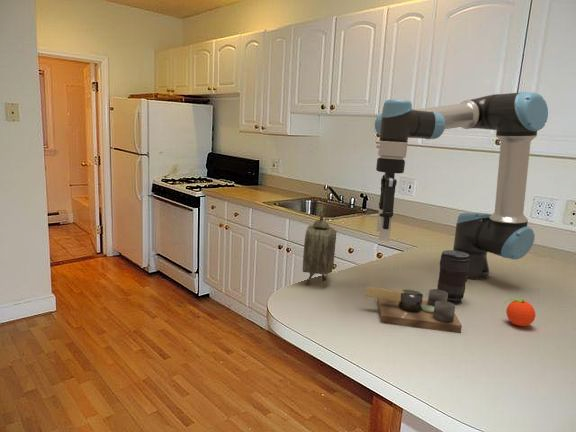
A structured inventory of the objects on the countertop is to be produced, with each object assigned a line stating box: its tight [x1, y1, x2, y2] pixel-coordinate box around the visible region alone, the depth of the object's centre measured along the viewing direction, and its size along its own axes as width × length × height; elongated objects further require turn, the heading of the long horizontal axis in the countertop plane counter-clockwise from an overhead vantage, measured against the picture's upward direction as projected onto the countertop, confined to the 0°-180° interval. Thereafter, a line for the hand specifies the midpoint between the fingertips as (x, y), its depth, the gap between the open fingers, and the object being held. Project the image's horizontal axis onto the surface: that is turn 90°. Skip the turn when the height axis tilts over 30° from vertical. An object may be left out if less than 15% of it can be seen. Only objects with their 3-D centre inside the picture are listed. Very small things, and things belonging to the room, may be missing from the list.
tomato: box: [503, 298, 536, 327], centre depth 114 cm, size 8×7×7 cm
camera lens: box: [436, 249, 469, 305], centre depth 128 cm, size 8×8×15 cm
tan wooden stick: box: [365, 285, 424, 312], centre depth 116 cm, size 15×6×4 cm, turn 81°
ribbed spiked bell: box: [302, 205, 338, 286], centre depth 137 cm, size 14×9×25 cm, turn 170°
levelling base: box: [377, 288, 463, 334], centre depth 115 cm, size 20×15×6 cm
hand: (382, 235), depth 120 cm, fingers open, 11 cm apart
